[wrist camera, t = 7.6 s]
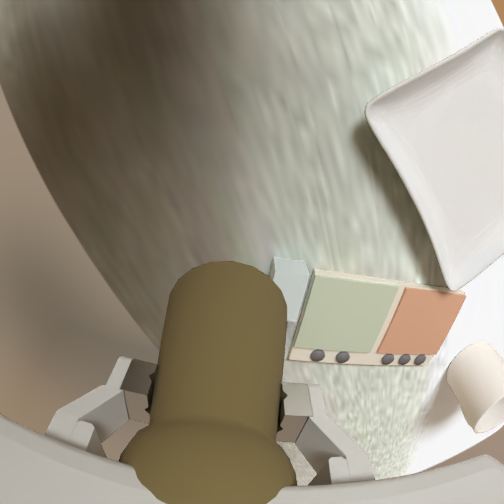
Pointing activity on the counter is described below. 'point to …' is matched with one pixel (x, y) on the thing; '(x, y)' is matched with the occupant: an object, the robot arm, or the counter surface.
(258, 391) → the pepper shaker
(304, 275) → the soap box
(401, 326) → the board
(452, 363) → the mug
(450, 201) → the salad plate
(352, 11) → the counter surface
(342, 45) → the counter surface
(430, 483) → the robot arm
